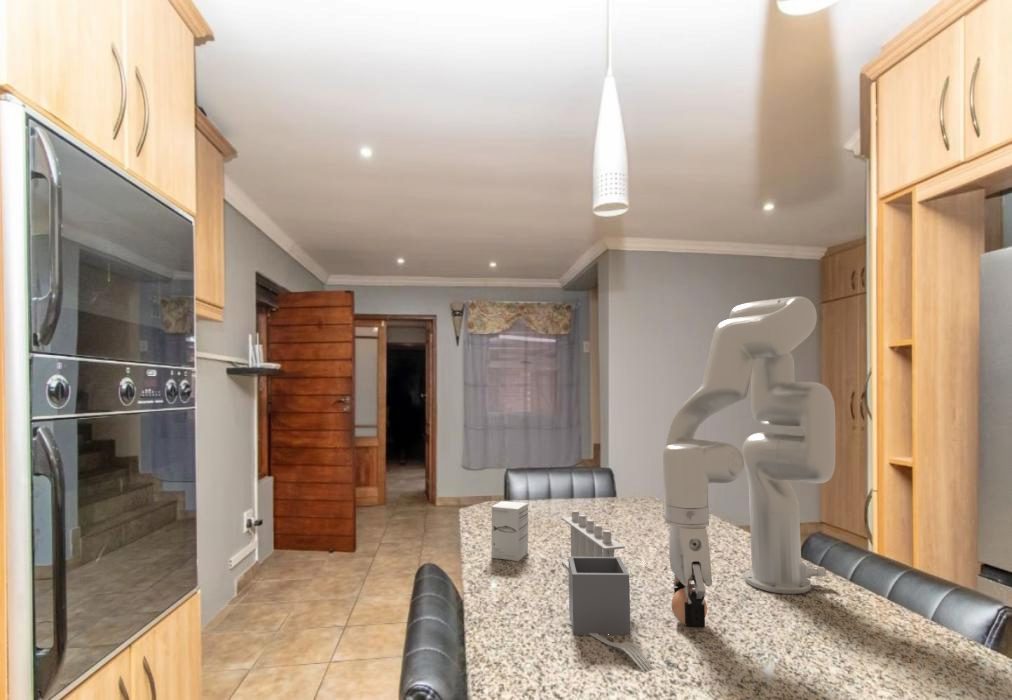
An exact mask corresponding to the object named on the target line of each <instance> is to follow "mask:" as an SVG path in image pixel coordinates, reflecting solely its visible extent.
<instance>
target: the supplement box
mask: <svg viewBox="0 0 1012 700" xmlns="http://www.w3.org/2000/svg"><path fill="white" fill-rule="evenodd" d="M490 550H491V559H498V560H500V559H501V560H506V561H514V562H520V561H521V560H522V559H523V558H524V557H526V556H527V555H528V551H529V503H528V502H518V501H517V502H515V501H505V500H504V501H503V500H501V501H499V502H498V503H496V504H494V505H492V506H491V549H490Z"/></svg>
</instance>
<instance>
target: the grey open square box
mask: <svg viewBox="0 0 1012 700" xmlns="http://www.w3.org/2000/svg"><path fill="white" fill-rule="evenodd" d="M567 561H569V571H568V611H569V612H570V613H569V612H568V613H569V618H570V620H571V623H572V626H571V629H572V634H573V636H577V635H576V634H579V635H578V636H591V635H590V634H589V633H597V634H599V635H600V636H613V635H631V599H630V598H631V595H630V573H629V571H628V570H627V568H626V566H625V564H624V562H623V560H622V558H621V556H614V557H571V556H568V560H567ZM584 634H586V635H584ZM608 634H609V635H608Z"/></svg>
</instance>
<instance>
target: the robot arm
mask: <svg viewBox="0 0 1012 700" xmlns="http://www.w3.org/2000/svg"><path fill="white" fill-rule="evenodd" d="M817 313H818V312H817V310H816V307H815V305H814V303H813V302H812V301H811V300H810V299H809V298H807V297H805V296H788V297H787V296H786V297H780V298H773V299H763V300H758V301H757V300H756V301H750V302H745V303H741V304H738V305H736V306H735V307H733V308H732V309H731V311H730V313H729V318H728V319H725V320H723V321H721V322H719V323H718V324H717V326H716V327H715V329H714V332H713V334H712V335H713V336H712V338H711V344H710V348H709V352H708V356H707V357H708V358H707V361H706V364H705V365H706V366H705V370H704V373H703V378H702V382H701V385H700V387H699V388H698V389H697V390H696V391H695V392H694V393H692V395H691V396H690V397H689V398H688V399H686V401H685V402H684V403H683V404H682V406H681V407H680V408H679V410H677V412H676V413H675V415H674V417H673V418H672V420H671V423H670V425H669V429H668V434H667V438H666V443H665V446H664V449H663V452H662V469H663V470H662V471H663V472H662V473H663V501H664V504H663V505H664V506H663V507H664V509H663V511H664V523H665V524H667V525H669V528H668V529H669V530H668V531H669V532H668V535H669V536H668V540H669V541H668V543H669V544H668V552H669V565H670V569H671V571H672V572H673V574H674V575H673V576H674V583H673V584H674V585H673V586H674V588H673V593H674V594H675V593H676V592H677V591H678V590H680V589H683V588H685V592H686V600H687V602H685V624H684V625H685V627H686V628H688V629H690V628H692V629H703V628H704V629H705V627H706V617H705V605H704V604H705V601H706V599H705V597H706V596H705V594H706V586H707V588H709V587H711V586H712V584H713V577H712V576H713V575H712V565H711V553H710V543H709V536H708V531H707V530H708V529H707V527H708V526H709V525H710V518H709V517H710V516H709V515H710V514H709V511H710V510H709V489H708V487H709V484H728V483H731V482H734V481H737V479H738V478H739V477H740V476H741V474H742V473H743V470H744V469H745V472H746V478H747V486H748V503H749V505H748V506H749V531H750V532H749V534H750V557H751V558H750V560H751V568H750V569H748V570H746V571H745V572H744V573H743V579H744V581H745V582H746V583H747V584H748V585H750V586H751V587H753V588H757V589H759V590H763V591H766V592H771V593H776V594H784V595H786V594H787V595H795V594H796V595H797V594H803V593H807V592H809V591H810V590H811V588H812V584H811V581H810V580H809V579H811V578H812V577H816V578H817V577H818V578H819V577H820V578H825V577H827V570H826V568H825V566H814V565H813V564H812V563H811V564H809V563H808V564H806V563H803V562H802V550H801V549H802V547H801V527H800V526H801V525H800V522H801V521H800V503H799V499H798V496H797V492H795V490H794V488H793V486H792V485H791V484H790V482H789V481H795V482H803V483H810V484H811V483H812V484H824V483H827V482H828V481H830V480H831V479H832V477H833V475H834V473H835V469H836V406H835V400H834V397H833V395H832V393H831V391H830V389H829V388H828V386H826V385H824V384H822V383H820V382H815V381H796V380H795V379H796V377H795V361H794V360H795V359H794V357H793V354H792V353H791V352H792V351H793V350H794V349H796V348H797V347H798V346H799V345H800V344H801V343H803V342H804V341H806V339H807V338H808V337H809V336H810V335H812V332H813V331H815V330H814V329H815V328H816V326H817V325H816V324H817V320H818V315H817ZM750 382H751V385H750ZM749 388H750V409H751V410H750V411H751V415H752V417H753V420H754V421H755V422H756V423H758V424H760V425H763V426H769V427H782V428H783V427H784V428H799V429H802V431H803V434H798V433H797V434H796V433H795V434H794V433H786V432H785V433H784V432H772V431H771V432H768V431H767V432H766V431H765V432H763V431H762V432H756V433H754V434H751V435H749V436H748V437H746V439H745V440H744V442H743V445H742V452H741V451H740V450H739V448H738V447H736V446H735V445H733V444H731V443H729V442H725V441H715V440H714V441H713V440H709V439H708V440H707V439H696V438H695V435H696V433H697V431H698V429H699V428H700V426H701V425H702V424H703V423H704V422H705V421H706V420H707V419H709V418H710V417H711V416H714V415H715V414H717V413H719V412H721V411H723V410H725V409H728V408H730V407H732V406H735V405H737V404H739V403H741V402H743V401H744V400H745V399H746V398H747V396H748V393H749ZM744 467H745V468H744ZM692 582H693V583H692ZM690 588H691V589H694V590H695V591H692V593H691V594H690ZM674 594H673V595H674ZM704 599H705V600H704Z"/></svg>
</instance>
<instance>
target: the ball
mask: <svg viewBox="0 0 1012 700" xmlns="http://www.w3.org/2000/svg"><path fill="white" fill-rule="evenodd" d="M694 589H695V588H692V589H691V588H690V594H691V593H692V591H695V590H694ZM704 600H705V604H704V605H705V618H706V617H707V614H708V606H707V605H708V604H707V601H706V599H705V598H704ZM685 602H687V600H686V592H685V588H683V589H680V590H678V591H677V592H676V593H675V594H673V596H672V598H671V603H670V605H671V611H672V613H673V615H674V617H675V619H677V621H679V622H680V623H681V624H684V625H685Z"/></svg>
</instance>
